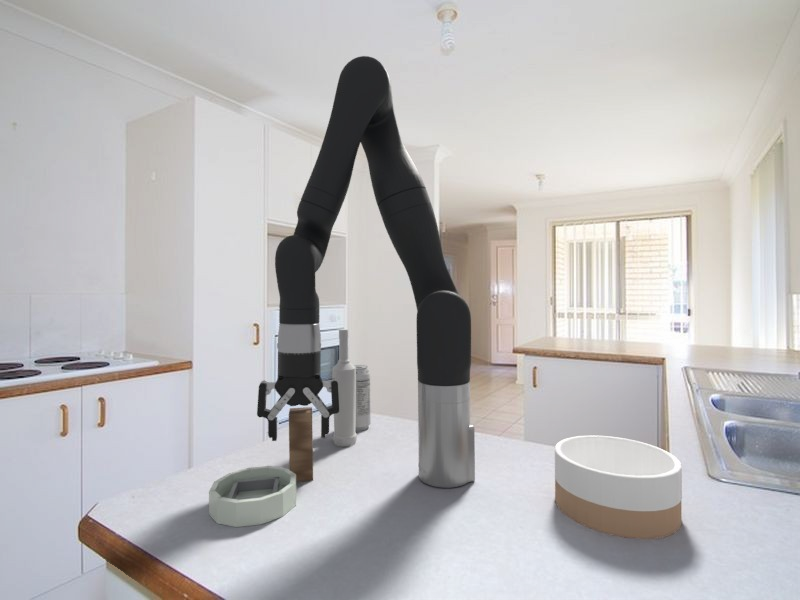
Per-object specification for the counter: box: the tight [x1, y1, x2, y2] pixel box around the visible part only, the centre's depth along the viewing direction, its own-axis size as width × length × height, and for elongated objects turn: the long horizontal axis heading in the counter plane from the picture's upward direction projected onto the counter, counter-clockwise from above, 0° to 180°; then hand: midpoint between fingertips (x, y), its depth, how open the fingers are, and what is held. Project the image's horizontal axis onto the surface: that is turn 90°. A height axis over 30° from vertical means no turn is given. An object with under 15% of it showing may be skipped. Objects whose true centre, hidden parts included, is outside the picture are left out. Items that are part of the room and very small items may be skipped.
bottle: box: [331, 328, 358, 447], centre depth 95 cm, size 5×5×25 cm
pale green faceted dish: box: [208, 465, 297, 528], centre depth 68 cm, size 13×13×4 cm
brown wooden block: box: [288, 406, 314, 483], centre depth 78 cm, size 4×4×12 cm
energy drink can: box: [352, 364, 372, 432], centre depth 106 cm, size 6×6×15 cm
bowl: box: [554, 434, 683, 540], centre depth 66 cm, size 17×17×8 cm
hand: (299, 438), depth 78 cm, fingers open, 8 cm apart
